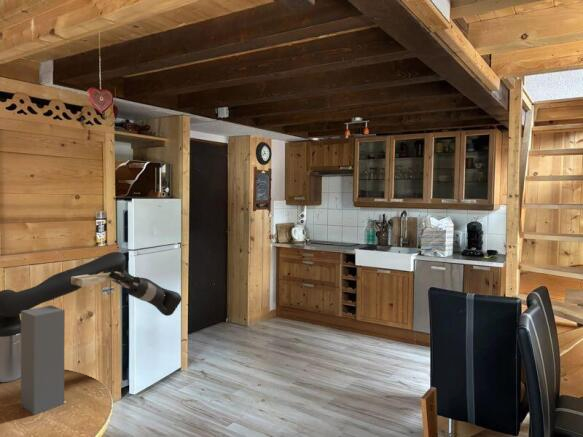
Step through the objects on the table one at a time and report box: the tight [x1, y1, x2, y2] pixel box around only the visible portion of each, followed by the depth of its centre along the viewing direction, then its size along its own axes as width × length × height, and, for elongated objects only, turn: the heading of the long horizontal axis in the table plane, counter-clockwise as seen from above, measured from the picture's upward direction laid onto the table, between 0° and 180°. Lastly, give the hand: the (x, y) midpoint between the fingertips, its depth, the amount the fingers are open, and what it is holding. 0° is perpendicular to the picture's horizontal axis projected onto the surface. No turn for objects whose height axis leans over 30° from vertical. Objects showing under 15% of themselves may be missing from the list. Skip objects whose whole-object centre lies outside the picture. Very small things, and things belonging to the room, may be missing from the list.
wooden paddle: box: [71, 272, 121, 288], centre depth 159 cm, size 7×16×2 cm, turn 145°
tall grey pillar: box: [20, 305, 66, 416], centre depth 144 cm, size 9×10×32 cm
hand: (108, 273), depth 162 cm, fingers closed on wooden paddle, 3 cm apart
